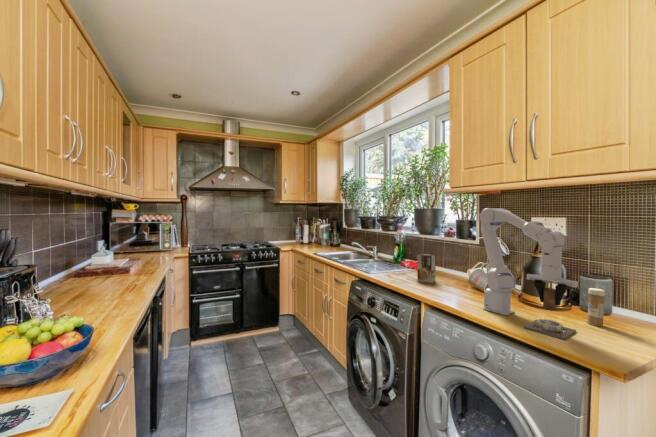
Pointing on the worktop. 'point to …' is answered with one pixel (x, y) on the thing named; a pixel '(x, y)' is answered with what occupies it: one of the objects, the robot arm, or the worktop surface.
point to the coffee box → (426, 268)
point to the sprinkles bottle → (596, 306)
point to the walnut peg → (549, 299)
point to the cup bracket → (550, 328)
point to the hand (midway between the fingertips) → (550, 303)
